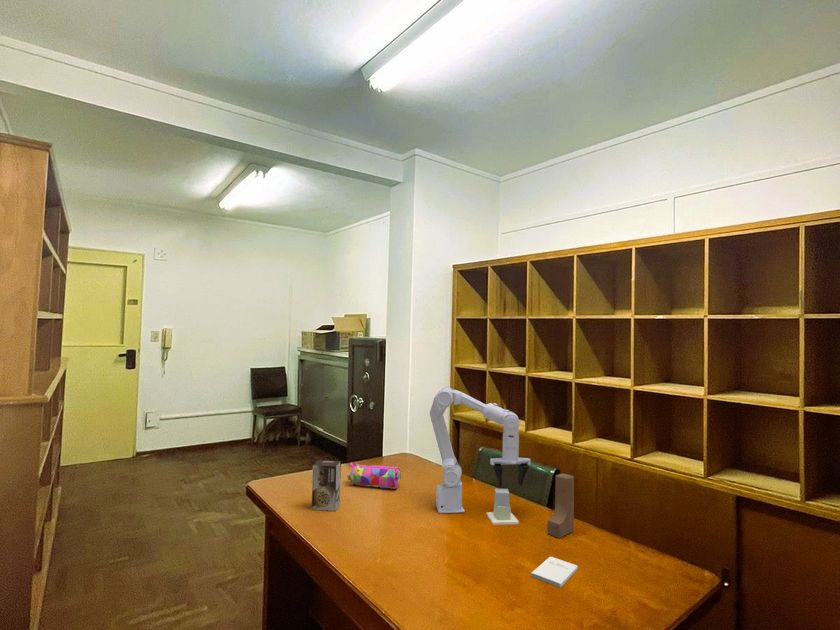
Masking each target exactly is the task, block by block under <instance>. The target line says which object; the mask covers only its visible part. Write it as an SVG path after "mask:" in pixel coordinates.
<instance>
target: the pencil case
mask: <svg viewBox="0 0 840 630" xmlns="http://www.w3.org/2000/svg"><path fill="white" fill-rule="evenodd" d="M348 465H349V466H350V467H351V470H350V473H349V475H347V480H348V481H349V482H350V484H351V485H352V484H356V485H357V486H361V485H363V487H370V486H372V488H373V487H374V488H378V487H380V488H381V489H389V488H390V490H393V489H394V490H396V488H397V489H398V488H399V486H400V482H401V478H402V476H401V475H402V473H401V470H400V467H399V466H385V465H380V464H378V465H376V464H375V465H374V464H373V465H365V464H358V463H353V462H352V461H351V462H350V463H349V464H348Z"/></svg>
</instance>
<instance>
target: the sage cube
mask: <svg viewBox="0 0 840 630" xmlns="http://www.w3.org/2000/svg"><path fill="white" fill-rule="evenodd" d="M493 512H494V516H495V517H496V519H497V520H510V518H511V513H512V510H511V505H510V504H509V507H506V506H496V504H495V501H493Z"/></svg>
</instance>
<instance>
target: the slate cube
mask: <svg viewBox="0 0 840 630" xmlns="http://www.w3.org/2000/svg"><path fill="white" fill-rule="evenodd" d="M494 502H495V504H496V506H506V507H509V505H510V492H509V489H508V488H494Z"/></svg>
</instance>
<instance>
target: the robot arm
mask: <svg viewBox="0 0 840 630" xmlns="http://www.w3.org/2000/svg"><path fill="white" fill-rule="evenodd" d="M452 403H453V405H454V406H455V405H456V406H457V405H464V406H466V407H469V408H471V409H473V410H476V411H479V412H481V413H482V415H483V417H484V418H485V419H487V420H489V421H491V422H493V423H495V424H497V425H499V426H500V425H501V426H503V433H502V457H495V458H494V457H493V458H492V457H491V458H489V465H491V466H492V468H493V470H494V473H495V476H496V478H497V484H498V486H500V487H502V485H503V480H502V477H503V466H504V465H512V466H515V465H517V470H518V476H517V477H518V481H517V482H518V485H519V486H521V487H522V486H523V482H524V480H525V477H526V474H527V473H528V471H529V468H530V467H529V466H531V463H532V462H531V458H528V457H519V449H520V445H519V444H520V434H519V432H520V431H519V428H520V425H521V422H520V419H519V416H518V415H517V414H516V413H514V412H513V411H510V410H509V409H504V408H503V407H500V406H498V403H495V402H494V403H491V402H490V403H487V404H486V403H483V402H482V401H480V400H478V399H476V398H474V397H472V396H470V395H468V394H466V393H464V392H463V391H459V390H457V389H453V388H451V387H448V386H444V387H443V388H442V389H440V390H439V391H438V392H437V394H435V397H433V400H432V403H431V407H430V410H429V416H430V421H431V424H432V428H433V431H434V436H435V439H436V442H437V448H438V451H439V455H440V458H441V462H442V463H441V465H442V471H443V474H442V483H440V484H436V486H435V487H436V489H435V507H436V510H437V511H438V513H440V514H446V513H447V514H448V513H449V514H451V513H453V514H454V513H465V509H464V507H463V482H462V480H461V476H462V474H463V469H462V466H461V465H460V464H459V463H458V460H457V458H456V456H455V453H454V450H453V446H452V443H451V439H450V434H449V431H448V427H447V423H446V419H445V416H444V413H446V410H447V408H449V407H450V406H451V405H452ZM502 465H503V466H502Z"/></svg>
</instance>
